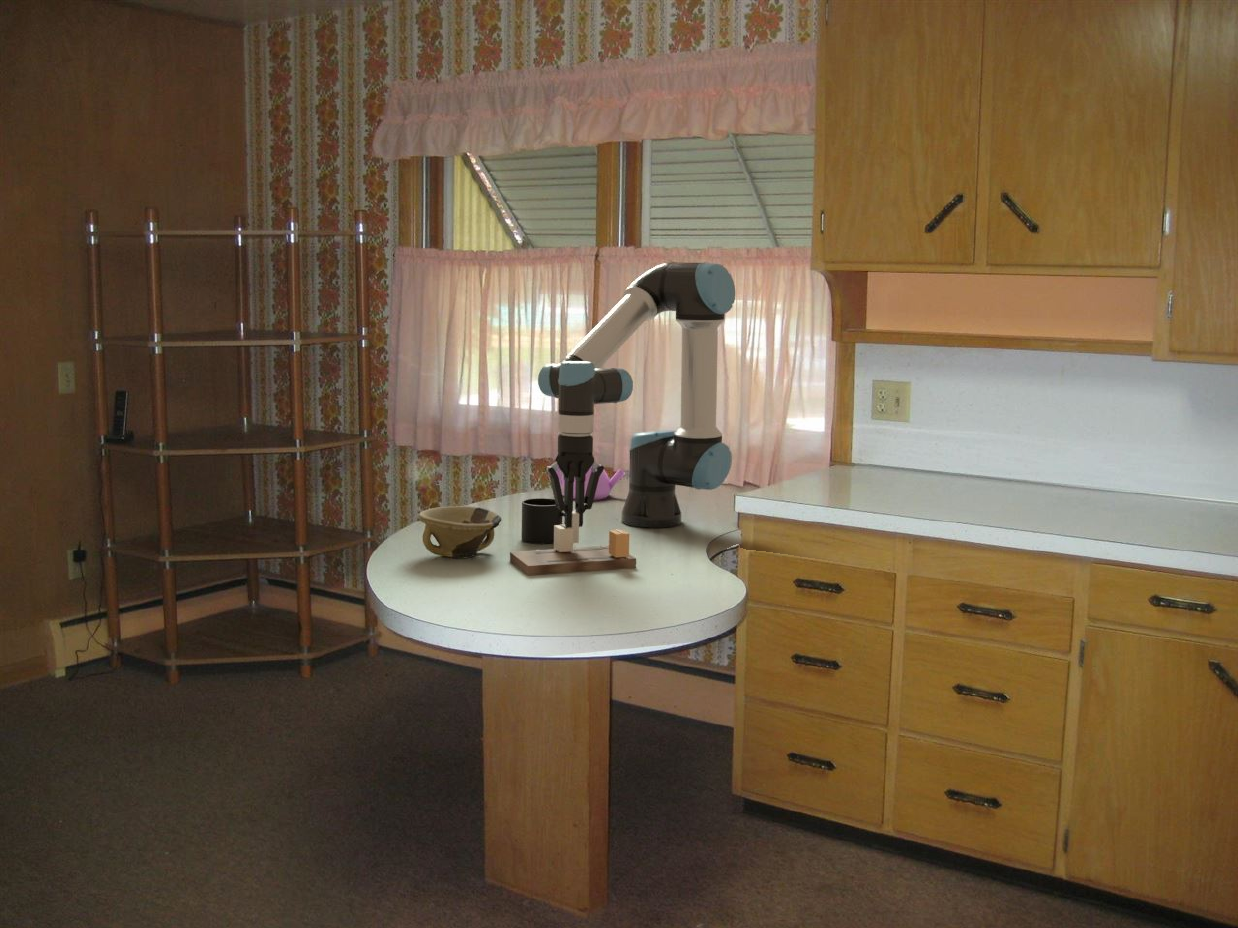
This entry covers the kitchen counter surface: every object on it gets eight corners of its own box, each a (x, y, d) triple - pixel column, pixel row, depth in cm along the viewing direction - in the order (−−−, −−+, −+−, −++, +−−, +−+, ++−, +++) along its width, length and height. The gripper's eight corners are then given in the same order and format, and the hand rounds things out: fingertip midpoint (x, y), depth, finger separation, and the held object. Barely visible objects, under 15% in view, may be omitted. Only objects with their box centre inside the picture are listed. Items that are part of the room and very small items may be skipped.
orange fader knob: (621, 552, 260) (622, 528, 259) (628, 556, 256) (629, 532, 255) (608, 553, 259) (609, 529, 258) (615, 557, 255) (616, 533, 254)
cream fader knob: (566, 547, 264) (567, 523, 263) (572, 551, 260) (573, 527, 259) (553, 547, 263) (554, 524, 262) (559, 551, 259) (560, 528, 258)
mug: (564, 547, 274) (564, 508, 273) (515, 542, 278) (515, 503, 276) (577, 538, 283) (578, 501, 282) (530, 534, 287) (530, 496, 285)
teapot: (621, 502, 329) (622, 464, 327) (549, 499, 332) (550, 461, 330) (627, 494, 343) (628, 456, 341) (558, 490, 345) (558, 453, 343)
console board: (613, 553, 269) (613, 544, 268) (635, 567, 257) (636, 557, 256) (509, 560, 260) (510, 551, 259) (528, 575, 248) (528, 565, 248)
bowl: (434, 568, 252) (434, 523, 250) (408, 550, 268) (408, 507, 266) (512, 561, 260) (513, 517, 258) (482, 543, 276) (483, 502, 274)
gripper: (597, 430, 264) (595, 536, 268) (541, 432, 259) (539, 539, 263) (610, 435, 257) (607, 543, 261) (552, 436, 252) (550, 547, 256)
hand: (573, 541), depth 262 cm, fingers closed
